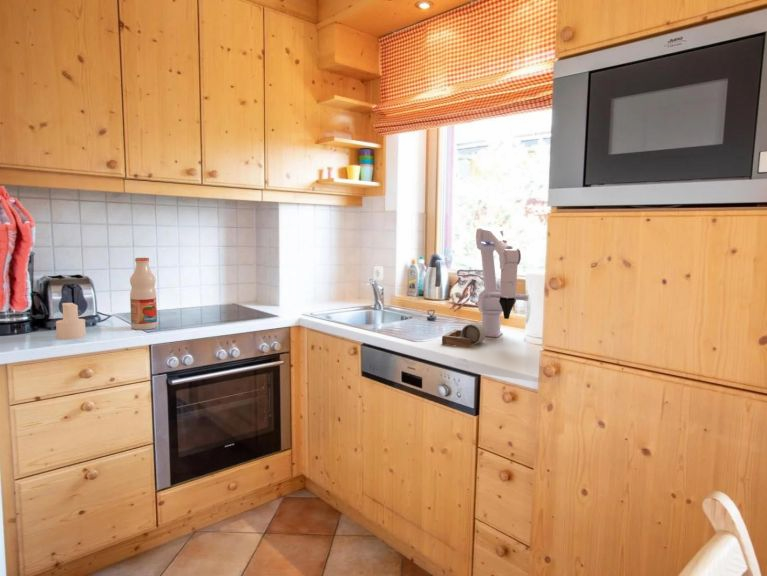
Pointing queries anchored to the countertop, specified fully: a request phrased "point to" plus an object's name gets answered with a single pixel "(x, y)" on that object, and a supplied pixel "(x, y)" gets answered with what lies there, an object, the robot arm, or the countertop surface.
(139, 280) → the fruit juice
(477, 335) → the ceramic mug
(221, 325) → the countertop surface
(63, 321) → the base with upright slab
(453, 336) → the brown wooden tray
